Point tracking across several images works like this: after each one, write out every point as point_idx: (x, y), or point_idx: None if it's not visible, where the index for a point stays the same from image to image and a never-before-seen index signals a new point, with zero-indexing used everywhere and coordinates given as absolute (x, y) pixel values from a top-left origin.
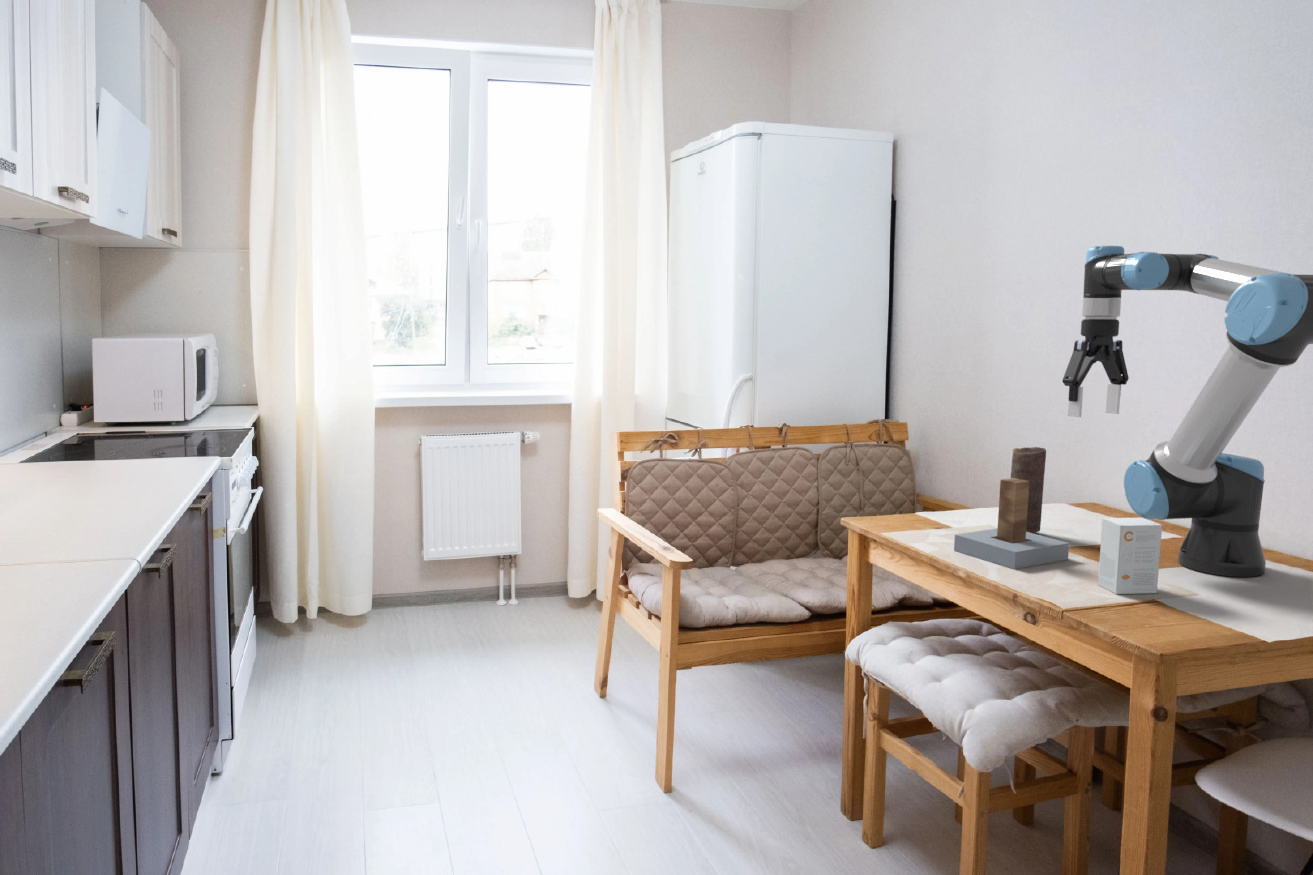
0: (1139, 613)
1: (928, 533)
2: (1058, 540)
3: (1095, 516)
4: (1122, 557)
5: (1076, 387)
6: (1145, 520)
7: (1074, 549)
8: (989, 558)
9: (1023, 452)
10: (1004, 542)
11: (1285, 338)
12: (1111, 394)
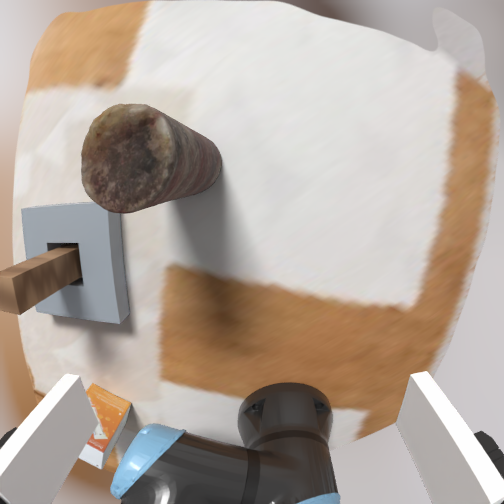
0: None
1: (66, 110)
2: (116, 306)
3: (430, 145)
4: None
5: (2, 502)
6: (96, 458)
7: (182, 283)
8: None
9: (103, 154)
10: None
11: None
12: (446, 473)
